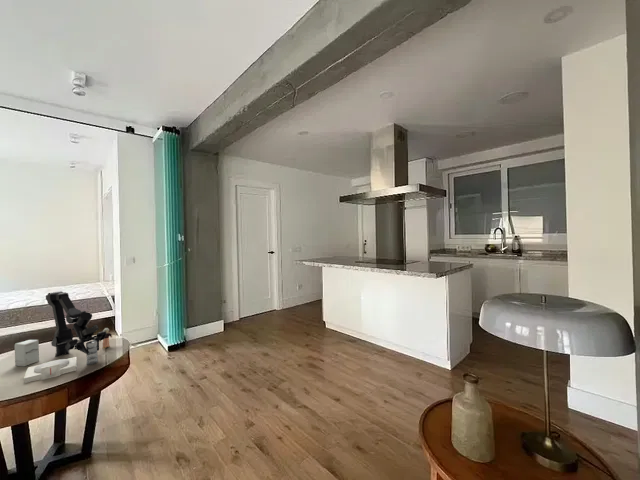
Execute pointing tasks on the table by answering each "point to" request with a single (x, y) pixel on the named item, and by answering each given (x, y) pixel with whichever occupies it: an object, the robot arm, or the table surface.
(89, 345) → the steel spacer stack
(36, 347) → the supplement box
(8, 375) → the table surface
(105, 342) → the grandmother figurine
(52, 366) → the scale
